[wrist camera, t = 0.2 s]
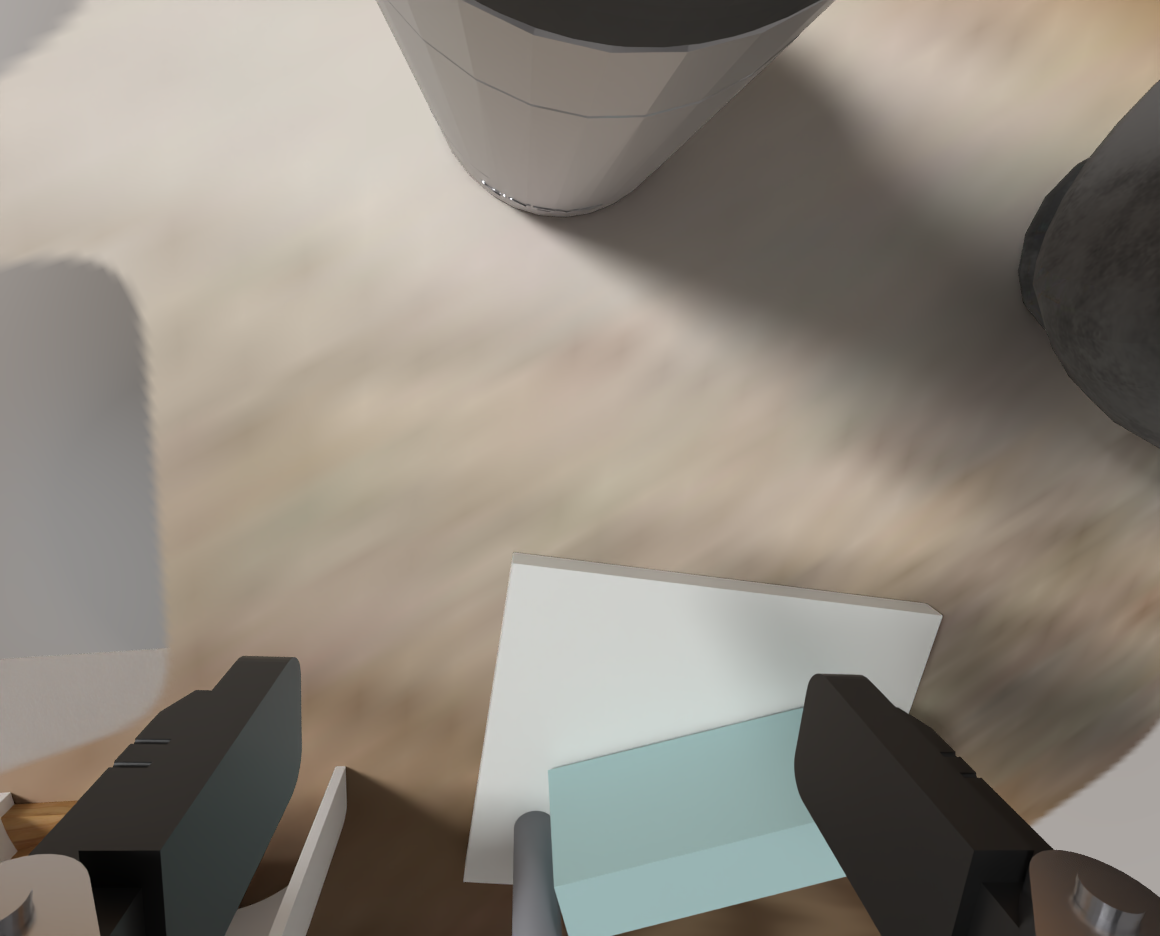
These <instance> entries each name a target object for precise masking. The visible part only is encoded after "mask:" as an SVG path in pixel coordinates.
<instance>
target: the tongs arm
mask: <svg viewBox="0 0 1160 936" xmlns="http://www.w3.org/2000/svg"><path fill="white" fill-rule="evenodd" d="M802 713H803V708H800V709H795V710H791V711H787V712H783V713H779V714H775V715H771V716H767V717H763V718H759V719H755V720H751V721H747V722H742V723H738V724H734V725H730V726H726V727H722V728H718V729H714V730H710V731H706V732H702V733H698V734H694V735H689V736H685V737H681V738H677V739H673V740H669V741H665V742H661V743H657V744H653V745H649V746H645V747H641V748H637V749H632V750H628V751H624V752H620V753H616V754H612V755H608V756H604V757H600V758H596V759H592V760H588V761H584V762H579V763H575V764H571V765H567V766H563V767H559V768H555V769H551V770H548V782H549V801H550V815H549V814H547V813H545V812H542V811H530V812H527V813H525V814H523V815H521V816H520V817H519V818H518V819H517V821H516V822H515V825H514V852H513V910H512V936H562V924H561V913H562V916H563V919H564V923H565V926H566V930H567V933H568V936H613V935H617V934H621V933H625V932H629V931H633V930H637V929H641V928H644V927H648V926H652V925H656V924H660V923H664V922H668V921H672V920H676V919H680V918H684V917H688V916H692V915H696V914H700V913H704V912H708V911H712V910H716V909H720V908H724V907H728V906H731V905H735V904H739V903H743V902H747V901H751V900H755V899H759V898H763V897H767V896H771V895H775V894H779V893H783V892H787V891H791V890H795V889H799V888H803V887H807V886H811V885H815V884H818V883H822V882H826V881H830V880H834V879H838V878H842V877H846V875H845V873H844V871H843V870H842V868H841V866H840V864H839V863H838V861H837V859H836V858H835V856H834V854H833V852H832V851H831V849H830V847H829V846H828V844H827V842H826V841H825V839H824V837H823V835H822V834H821V832H820V830H819V829H818V827H817V825H816V824H815V822H814V820H813V818H812V817H811V815H810V813H809V812H808V810H807V808H806V807H805V805H804V803H803V801H802V799H801V797H800V795H799V792H798V789H797V785H796V780H795V773H794V757H795V751H796V746H797V740H798V735H799V729H800V724H801V718H802Z"/></svg>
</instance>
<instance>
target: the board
mask: <svg viewBox="0 0 1160 936" xmlns="http://www.w3.org/2000/svg"><path fill="white" fill-rule="evenodd" d="M941 619H942V615H941V614H940V613H939V612H937V611H936V610H935V609H933V608H932V607H931V606H929V605H928V604H927V603H919V602H911V601H903V600H895V599H887V598H879V597H870V596H862V595H854V594H846V593H838V592H830V591H822V590H814V589H806V588H798V587H790V586H782V585H774V584H766V583H758V582H750V581H742V580H734V579H725V578H717V577H709V576H701V575H693V574H685V573H677V572H669V571H661V570H653V569H645V568H637V567H629V566H621V565H613V564H605V563H597V562H589V561H581V560H572V559H564V558H556V557H548V556H540V555H532V554H524V553H516V552H513V556H512V562H511V569H510V575H509V582H508V588H507V595H506V601H505V608H504V614H503V621H502V627H501V633H500V640H499V646H498V653H497V659H496V666H495V672H494V679H493V685H492V692H491V698H490V705H489V711H488V718H487V724H486V730H485V737H484V743H483V750H482V756H481V763H480V769H479V776H478V782H477V789H476V795H475V802H474V808H473V815H472V821H471V828H470V834H469V840H468V847H467V853H466V860H465V869H464V879H463V882H476V883H493V884H511V885H513V852H514V825H515V822H516V821H517V819H518V818H519V817H520V816H521V815H523V814H525V813H527V812H530V811H542V812H545V813H547V814H549V815H550V801H549V782H548V770H551V769H555V768H559V767H563V766H567V765H571V764H575V763H579V762H584V761H588V760H592V759H596V758H600V757H604V756H608V755H612V754H616V753H620V752H624V751H628V750H632V749H637V748H641V747H645V746H649V745H653V744H657V743H661V742H665V741H669V740H673V739H677V738H681V737H685V736H689V735H694V734H698V733H702V732H706V731H710V730H714V729H718V728H722V727H726V726H730V725H734V724H738V723H742V722H747V721H751V720H755V719H759V718H763V717H767V716H771V715H775V714H779V713H783V712H787V711H791V710H795V709H800V708H803V707H804V702H805V696H806V691H807V686H808V683H809V681H810V679H811V677H812V676H813V675H815V674H818V673H820V674H856V675H863V676H865V677H867V678H868V679H869V680H870V681H871V682H872V683H873V684H874V685H875V686H876V687H877V688H878V689H879V690H880V691H881V692H882V693H883V694H884V696H885V697H886V698H887V699H888V700H889V701H890V702H891V703H892V704H893V705H894V706H895V707H899V708H900V709H902V710H903V711H905V712H906V713H908V714H909V711H910V708H911V706H912V703H913V700H914V697H915V694H916V691H917V688H918V685H919V683H920V680H921V677H922V674H923V671H924V668H925V665H926V662H927V660H928V657H929V654H930V651H931V648H932V645H933V642H934V639H935V636H936V634H937V631H938V628H939V625H940V622H941Z"/></svg>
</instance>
